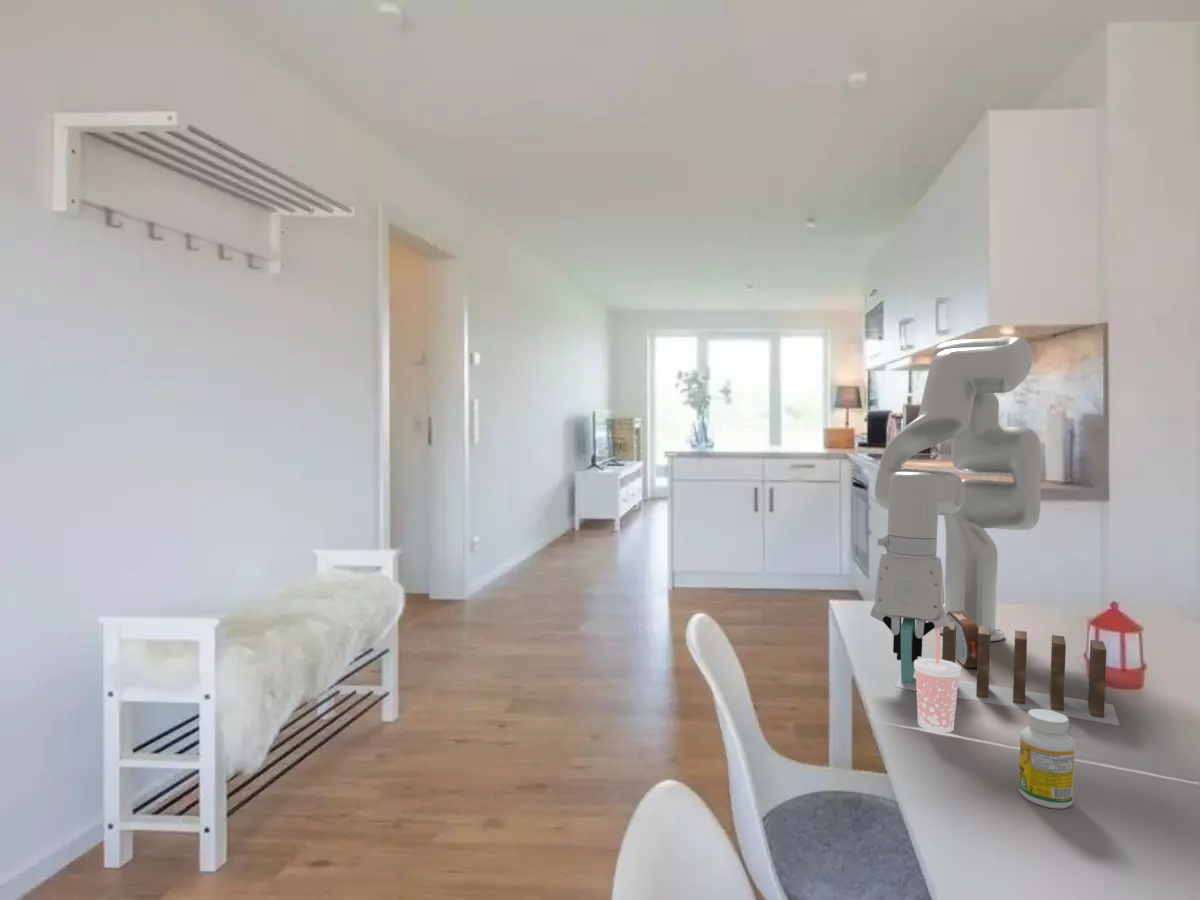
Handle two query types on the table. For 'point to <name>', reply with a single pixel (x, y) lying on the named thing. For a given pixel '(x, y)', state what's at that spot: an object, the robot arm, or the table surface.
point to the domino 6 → (1097, 678)
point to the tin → (965, 638)
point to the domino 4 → (1020, 667)
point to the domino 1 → (907, 650)
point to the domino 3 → (983, 661)
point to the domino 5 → (1057, 672)
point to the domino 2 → (949, 642)
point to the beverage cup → (936, 692)
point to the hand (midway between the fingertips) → (907, 658)
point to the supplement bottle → (1047, 760)
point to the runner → (1026, 701)
